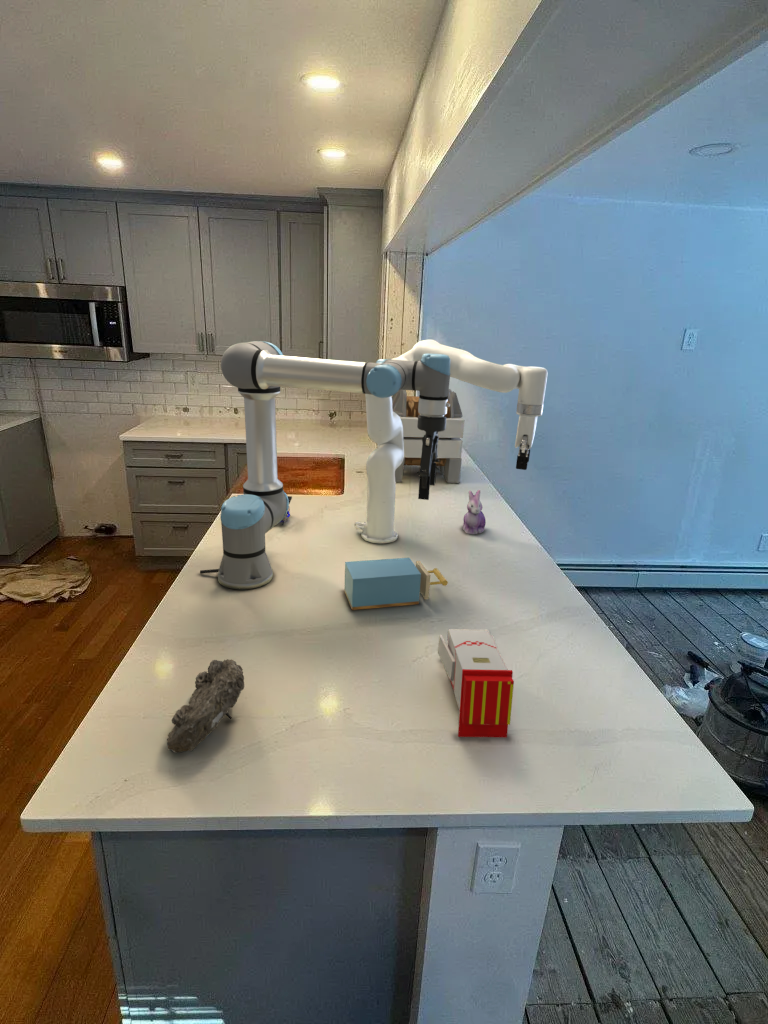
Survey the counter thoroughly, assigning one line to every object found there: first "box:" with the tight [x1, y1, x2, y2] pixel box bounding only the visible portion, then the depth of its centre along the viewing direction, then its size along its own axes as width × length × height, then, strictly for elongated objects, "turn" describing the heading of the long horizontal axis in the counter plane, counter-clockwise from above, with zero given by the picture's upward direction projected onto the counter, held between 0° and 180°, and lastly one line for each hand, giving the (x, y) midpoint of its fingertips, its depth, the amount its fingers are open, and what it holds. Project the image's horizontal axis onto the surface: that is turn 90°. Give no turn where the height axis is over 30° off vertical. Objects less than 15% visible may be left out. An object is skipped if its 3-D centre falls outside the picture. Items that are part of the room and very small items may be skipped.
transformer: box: [391, 388, 465, 484], centre depth 268 cm, size 34×33×41 cm
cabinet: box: [343, 557, 421, 611], centre depth 154 cm, size 18×11×9 cm, turn 105°
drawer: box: [415, 560, 449, 600], centre depth 156 cm, size 23×9×7 cm, turn 105°
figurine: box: [462, 489, 487, 535], centre depth 203 cm, size 9×10×15 cm
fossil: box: [166, 658, 245, 754], centre depth 106 cm, size 22×10×15 cm
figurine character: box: [279, 495, 293, 526], centre depth 206 cm, size 7×8×15 cm
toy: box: [437, 628, 515, 738], centre depth 117 cm, size 12×13×30 cm
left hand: (426, 491), depth 156 cm, fingers open, 13 cm apart
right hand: (522, 465), depth 174 cm, fingers open, 9 cm apart
